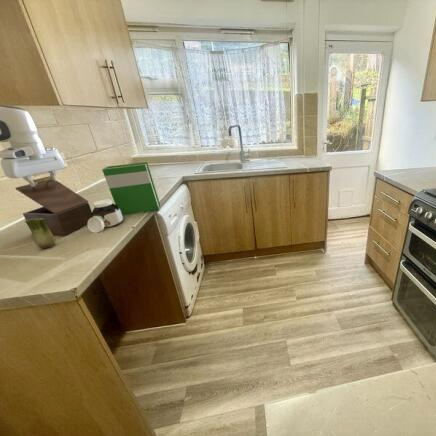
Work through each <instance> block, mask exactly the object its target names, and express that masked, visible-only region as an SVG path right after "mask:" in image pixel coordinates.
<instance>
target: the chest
mask: <svg viewBox="0 0 436 436" xmlns="http://www.w3.org/2000/svg"><path fill="white" fill-rule="evenodd" d="M92 212H93V210H92V208H91V206H90V204H89V202H88V203H85V204H82V205H80V206H77V207H74V208H72V209H69V210H67V211H64V212H61V213H59V214H54V213H53V212H51V211H49V210H48V209H46V208H45V207H43V206H41V207H38V208H35V209H32V210H29V211H26V212H23V213H22V215H23V217H24V220H25V221H26V220H30V219H33V221H34V219H37V218H38V219H42V218H44V220H45V222H46V224H47V226H48V228H49V229H50V231H51V233H52V235H53V236H56V237H57V236H58V237H67V236H69V235H71V234H73V233H75V232H77V231H80V230H81V229H84V228H85V227H88V226H87V223H88V220H89V219H90V218H92V217H93V216H92ZM34 222H35V221H34Z"/></svg>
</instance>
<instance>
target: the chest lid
mask: <svg viewBox="0 0 436 436" xmlns="http://www.w3.org/2000/svg"><path fill="white" fill-rule="evenodd" d="M32 180H33V181H34V182H37V184H38V186H34V187H31V186H30V184H25V185H20V186H17V187H15V190H16V191H18V192H19V193H21V194H22V195H24V196H26V197H27V198H29V199H30V200H32V201H34V202H35V203H36V204H38V205H40V206H41V207H45V208H46V209H48V210H49V211H51V212H53V213H54V214H59V213H61V212H64V211H67V210H69V209H72V208H74V207H77V206H80V205H82V204H85V203H89V200H88V199H85V198H84V197H83V196H81V195H80V194H78V193H77V192H75V191H73V190H72V189H70V188H69V187H67V186H66V185H64V184H63V183H62V182H59V181H58V180H56V181H54V182H50V181H51V180H52V179H51V177H50V176H43V177H40V178H37V179H32Z"/></svg>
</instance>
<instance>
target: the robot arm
mask: <svg viewBox="0 0 436 436" xmlns="http://www.w3.org/2000/svg"><path fill="white" fill-rule="evenodd" d="M7 142H9V144H10V146H9V147H7V148H5V149H2V150H0V158H1V160H0V166H1V169H2V171H3V173H4V175H5V177H6V178H9V179H20V178H23V180H24V181H26V182H27V183H29V184H30V186H31V187H34V186H38V184H37V182H34V181H33V180H34V179H32V178H33V177H32V176H35V175H39V174H44V173H48V174H49V177H51V179H52V180H51V181H50V182H54V181H57V179H56V175H57V171H58V170H63V169H65V168H66V163H65V161H64V160H63V158H62V156H61V155H60V153H59V150H58V149H56V148H54V147H44V146H45V145H44V144H43V141H42V139H41V138H40V137H39V135H38V129H37V126H36V124H35V122H34V120H33V118H32V116H31V114H30V113H29V112H28V111H27V110H25V109H24V108H22V107H18V106H11V105H1V104H0V143H7ZM29 184H28V185H29Z"/></svg>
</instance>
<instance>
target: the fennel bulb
mask: <svg viewBox="0 0 436 436" xmlns="http://www.w3.org/2000/svg"><path fill="white" fill-rule="evenodd" d="M34 221H35V222H34ZM34 221H33V219H30V220H26V219H25V220H24V222H25V223H26V225H27V227H28V228H29V230H30V232H31V235H32V236H31V237H32V239H33V241H34V243H35V245H36V246H37V247H38V248H40V249H48V248H51V247H53V246H55V244H56V242H55V241H56V240H55V238H54V235H52V233H51V231H50V229H49V228H48V226H47V224H46V222H45V220H44V218H42V219H38V218H37V219H34Z"/></svg>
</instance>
